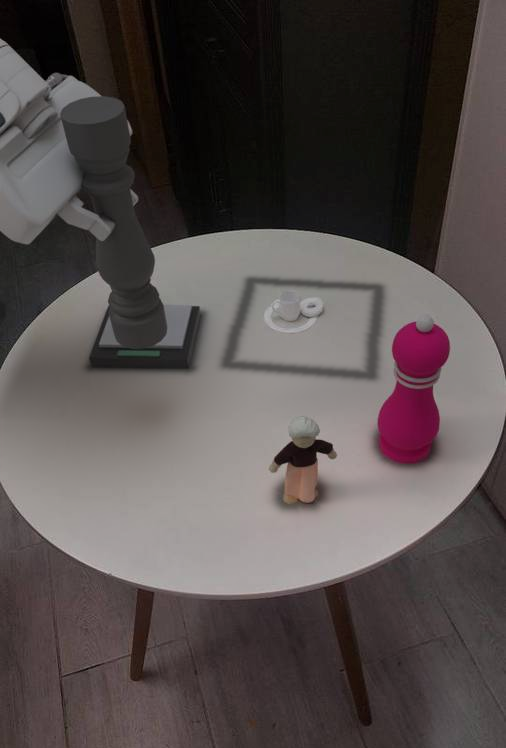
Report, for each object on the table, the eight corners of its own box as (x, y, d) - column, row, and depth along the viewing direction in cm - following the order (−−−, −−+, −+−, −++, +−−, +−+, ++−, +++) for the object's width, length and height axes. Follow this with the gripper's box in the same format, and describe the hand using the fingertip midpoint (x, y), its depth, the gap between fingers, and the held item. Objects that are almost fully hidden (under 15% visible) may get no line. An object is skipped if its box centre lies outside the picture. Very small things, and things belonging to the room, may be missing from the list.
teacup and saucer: (325, 304, 104) (326, 281, 101) (319, 337, 99) (319, 315, 96) (268, 300, 105) (267, 278, 102) (259, 333, 100) (258, 311, 97)
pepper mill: (362, 447, 85) (375, 317, 70) (400, 416, 88) (419, 286, 73) (408, 478, 81) (432, 349, 66) (446, 446, 84) (477, 315, 69)
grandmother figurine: (282, 518, 78) (278, 445, 69) (268, 494, 81) (263, 420, 71) (341, 494, 80) (345, 419, 71) (325, 472, 83) (328, 396, 73)
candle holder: (128, 356, 76) (73, 132, 57) (105, 327, 80) (46, 107, 61) (177, 335, 78) (139, 112, 59) (152, 308, 82) (109, 89, 63)
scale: (92, 369, 97) (87, 354, 95) (111, 316, 105) (107, 301, 103) (189, 371, 96) (186, 356, 94) (201, 317, 104) (198, 302, 102)
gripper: (48, 88, 72) (148, 187, 77) (-71, 183, 59) (57, 294, 64) (75, 44, 67) (179, 152, 72) (-48, 137, 55) (88, 260, 60)
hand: (121, 220), depth 68 cm, fingers closed on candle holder, 4 cm apart
